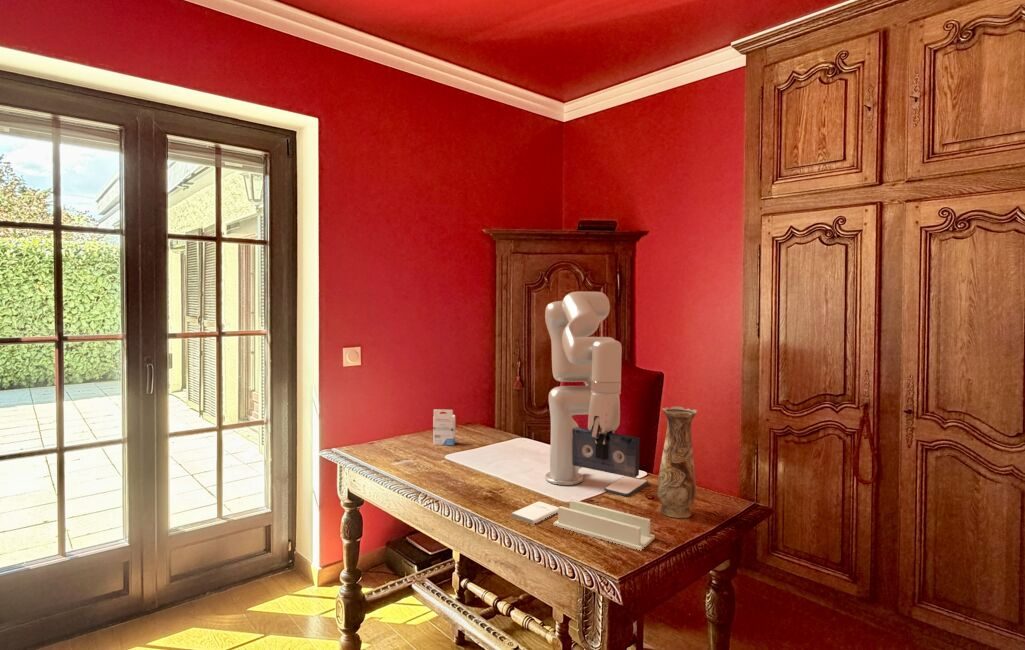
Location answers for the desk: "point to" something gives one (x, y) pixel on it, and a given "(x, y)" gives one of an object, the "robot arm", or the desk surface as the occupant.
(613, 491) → the phone case
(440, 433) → the ink box
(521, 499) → the desk surface
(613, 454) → the vhs cassette tape
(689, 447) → the vase
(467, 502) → the desk surface
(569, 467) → the robot arm
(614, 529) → the rack
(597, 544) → the desk surface
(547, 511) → the external hard drive
